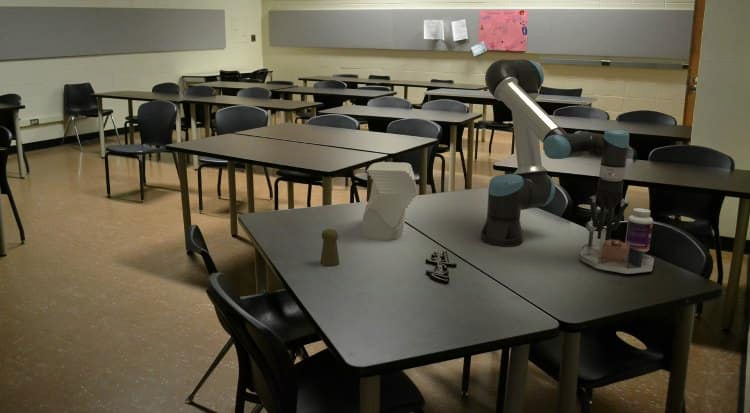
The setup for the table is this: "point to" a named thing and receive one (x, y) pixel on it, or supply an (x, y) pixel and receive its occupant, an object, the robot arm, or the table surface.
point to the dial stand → (590, 233)
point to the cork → (329, 248)
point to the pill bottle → (639, 229)
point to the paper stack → (388, 200)
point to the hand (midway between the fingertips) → (602, 248)
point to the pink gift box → (615, 249)
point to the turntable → (618, 261)
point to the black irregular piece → (440, 267)
